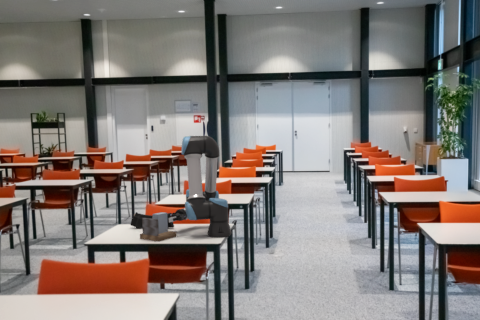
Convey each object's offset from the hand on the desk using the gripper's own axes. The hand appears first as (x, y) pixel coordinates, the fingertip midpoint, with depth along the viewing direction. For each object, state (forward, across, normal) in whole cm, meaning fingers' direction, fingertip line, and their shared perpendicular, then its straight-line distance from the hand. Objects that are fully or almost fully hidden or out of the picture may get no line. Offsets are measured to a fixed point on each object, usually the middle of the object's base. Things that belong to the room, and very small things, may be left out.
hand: (160, 219), depth 329 cm
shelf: (+3, 0, -11) cm, 11 cm away
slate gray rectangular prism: (+1, 0, -8) cm, 8 cm away
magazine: (-18, +25, -12) cm, 33 cm away
